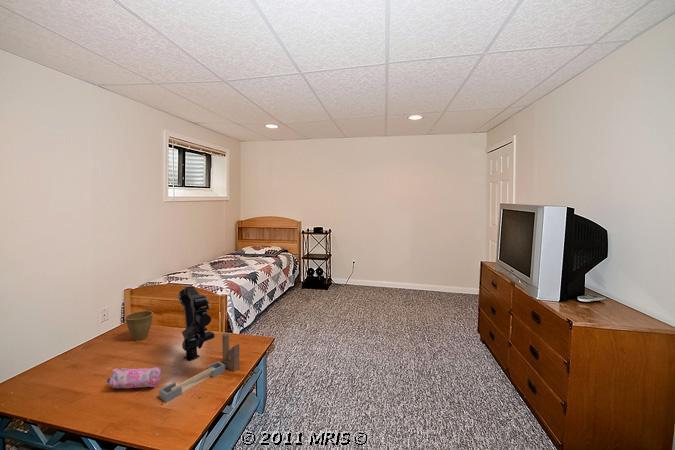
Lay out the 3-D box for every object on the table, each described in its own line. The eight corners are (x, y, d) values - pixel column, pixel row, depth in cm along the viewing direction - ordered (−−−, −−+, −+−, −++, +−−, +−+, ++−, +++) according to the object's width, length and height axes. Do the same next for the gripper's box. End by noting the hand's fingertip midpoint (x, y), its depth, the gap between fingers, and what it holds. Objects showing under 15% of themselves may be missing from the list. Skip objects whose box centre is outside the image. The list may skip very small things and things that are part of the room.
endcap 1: (159, 396, 131) (159, 389, 131) (174, 388, 137) (174, 382, 137) (166, 402, 127) (165, 394, 127) (181, 394, 133) (181, 386, 133)
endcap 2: (225, 371, 152) (225, 365, 152) (213, 377, 146) (213, 371, 146) (218, 367, 156) (218, 361, 156) (206, 373, 150) (206, 366, 150)
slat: (170, 395, 133) (170, 388, 133) (212, 372, 152) (212, 366, 152) (174, 397, 131) (173, 391, 131) (215, 373, 150) (215, 368, 150)
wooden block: (234, 371, 152) (234, 339, 151) (220, 366, 157) (220, 334, 156) (239, 368, 155) (239, 336, 154) (226, 362, 160) (226, 331, 159)
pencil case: (105, 392, 134) (105, 374, 133) (119, 380, 143) (119, 363, 142) (152, 392, 134) (152, 373, 134) (163, 380, 144) (163, 363, 143)
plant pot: (141, 332, 197) (140, 309, 196) (158, 334, 193) (158, 312, 192) (120, 341, 183) (119, 317, 182) (138, 345, 179) (137, 320, 178)
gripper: (175, 320, 150) (175, 349, 151) (194, 329, 140) (194, 360, 141) (195, 314, 159) (195, 341, 160) (214, 322, 149) (215, 351, 150)
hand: (199, 348), depth 152 cm, fingers closed
